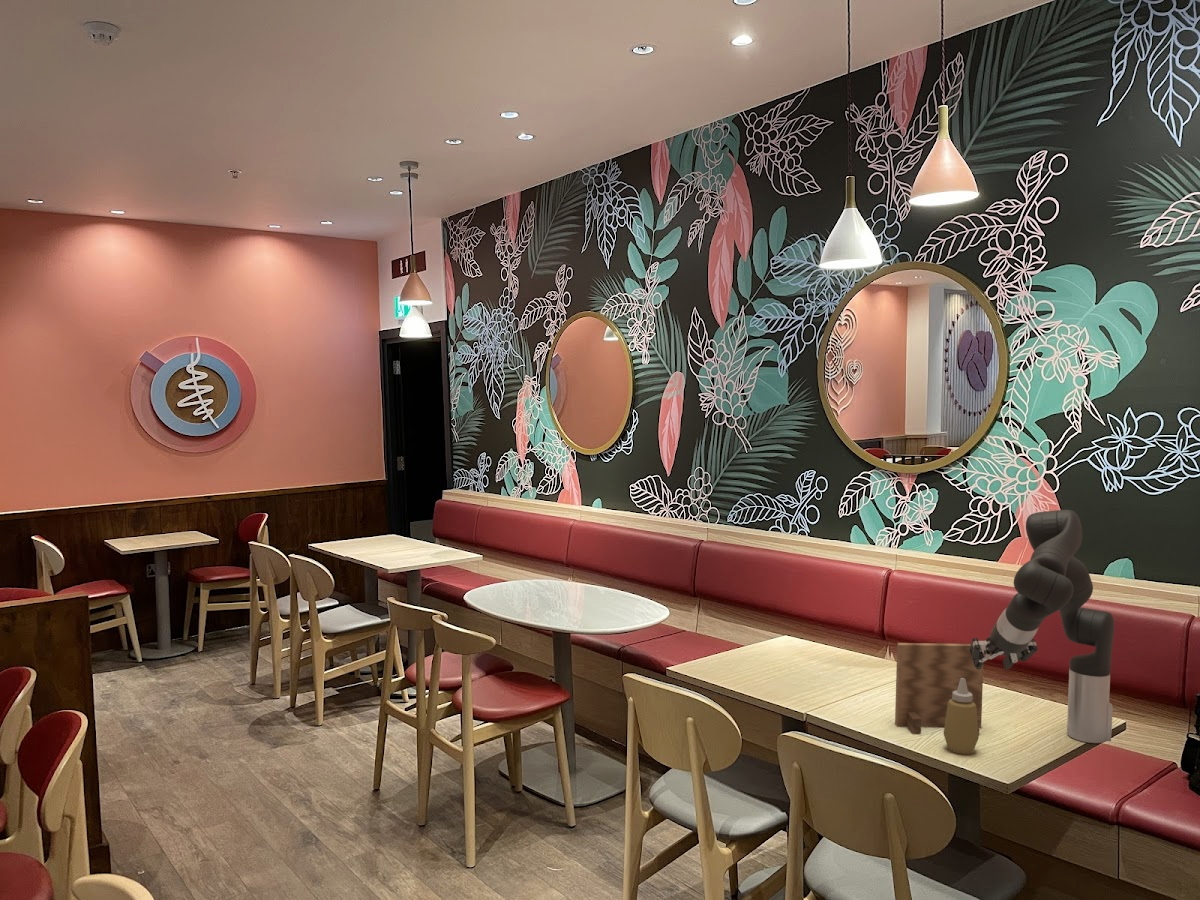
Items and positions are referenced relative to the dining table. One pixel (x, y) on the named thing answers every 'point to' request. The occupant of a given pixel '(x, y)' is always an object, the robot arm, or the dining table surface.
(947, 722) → the squeeze bottle
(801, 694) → the dining table surface
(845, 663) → the dining table surface
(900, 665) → the walnut wall board
